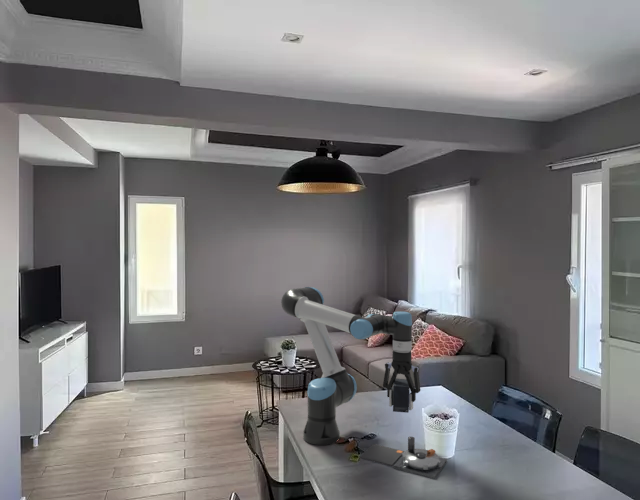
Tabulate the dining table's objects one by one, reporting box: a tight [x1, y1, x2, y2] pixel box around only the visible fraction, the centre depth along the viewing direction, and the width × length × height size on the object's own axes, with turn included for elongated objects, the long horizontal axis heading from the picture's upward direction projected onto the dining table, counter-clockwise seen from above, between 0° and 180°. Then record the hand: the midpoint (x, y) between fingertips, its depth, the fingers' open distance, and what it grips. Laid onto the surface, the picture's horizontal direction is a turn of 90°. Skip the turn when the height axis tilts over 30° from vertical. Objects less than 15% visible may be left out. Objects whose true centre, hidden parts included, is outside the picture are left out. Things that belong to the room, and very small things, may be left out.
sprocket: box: [400, 436, 441, 470], centre depth 168 cm, size 14×13×7 cm
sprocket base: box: [393, 456, 448, 480], centre depth 168 cm, size 15×15×1 cm
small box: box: [392, 378, 411, 414], centre depth 185 cm, size 11×6×10 cm, turn 169°
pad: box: [359, 443, 406, 467], centre depth 175 cm, size 13×13×1 cm
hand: (401, 407), depth 185 cm, fingers closed on small box, 8 cm apart
